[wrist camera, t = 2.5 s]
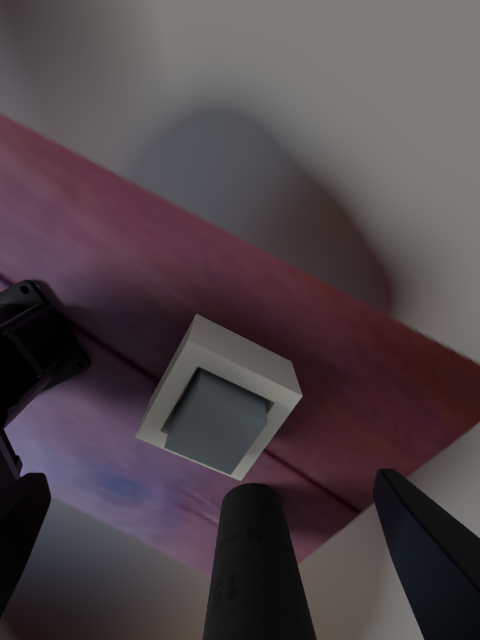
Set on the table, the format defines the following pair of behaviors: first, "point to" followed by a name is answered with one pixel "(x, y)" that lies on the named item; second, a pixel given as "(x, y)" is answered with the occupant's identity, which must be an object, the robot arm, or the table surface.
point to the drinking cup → (255, 572)
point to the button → (216, 422)
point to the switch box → (231, 364)
